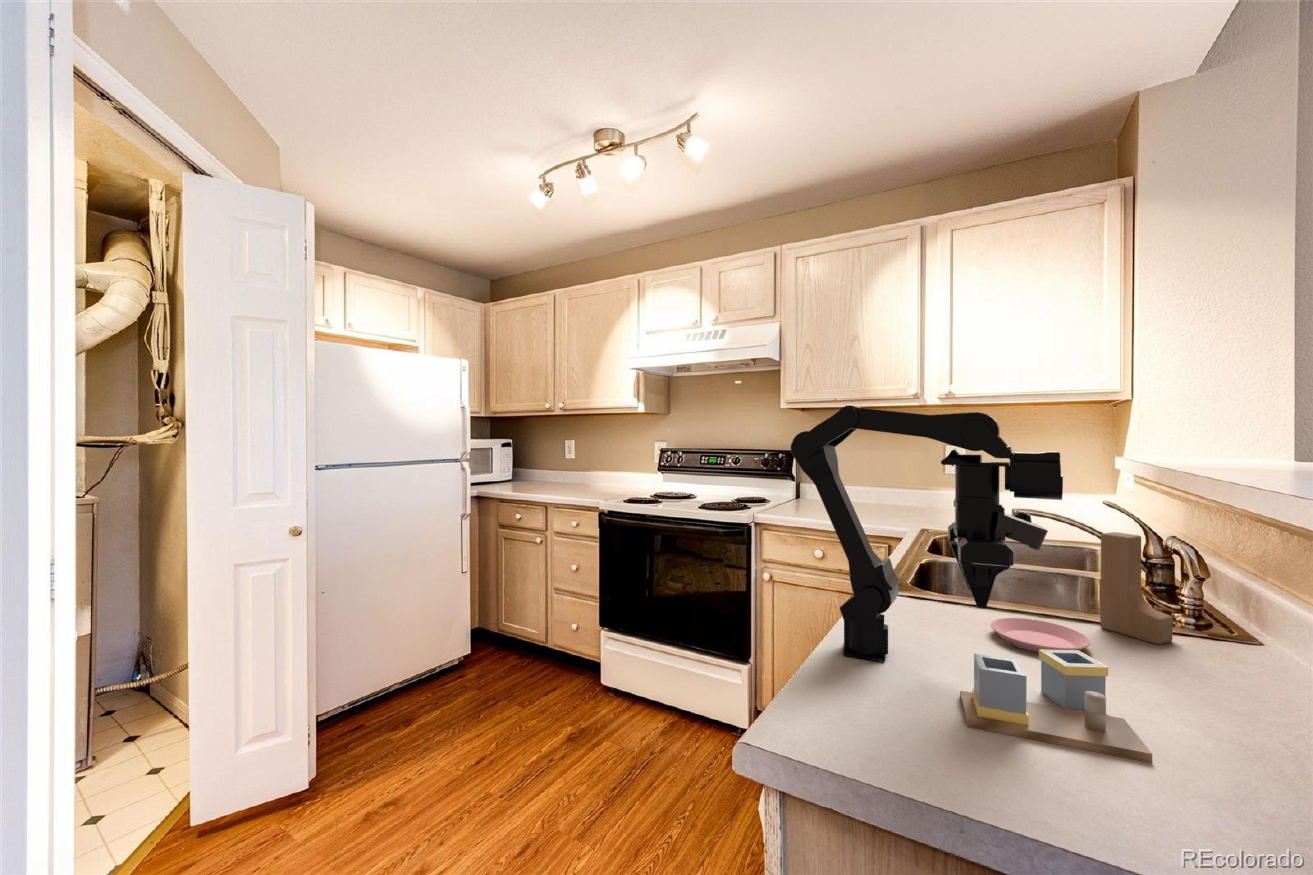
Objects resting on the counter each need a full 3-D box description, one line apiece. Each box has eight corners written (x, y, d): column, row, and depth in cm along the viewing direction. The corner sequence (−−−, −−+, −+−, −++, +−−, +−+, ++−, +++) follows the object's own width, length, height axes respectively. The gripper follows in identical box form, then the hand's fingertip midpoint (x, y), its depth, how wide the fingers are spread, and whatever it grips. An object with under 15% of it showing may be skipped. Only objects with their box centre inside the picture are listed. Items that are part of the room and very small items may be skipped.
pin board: (967, 726, 66) (967, 687, 66) (960, 697, 74) (960, 662, 74) (1152, 762, 59) (1152, 718, 59) (1123, 726, 66) (1123, 686, 66)
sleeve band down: (1028, 725, 65) (1028, 677, 65) (977, 715, 67) (977, 669, 67) (1019, 704, 70) (1019, 659, 70) (972, 696, 72) (972, 652, 72)
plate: (1089, 668, 83) (1089, 655, 83) (984, 645, 92) (984, 633, 92) (1091, 641, 94) (1091, 629, 94) (997, 622, 103) (997, 612, 103)
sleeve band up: (1065, 711, 70) (1065, 666, 70) (1038, 691, 76) (1038, 649, 75) (1108, 712, 70) (1108, 667, 70) (1078, 692, 75) (1078, 650, 75)
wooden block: (1173, 641, 93) (1174, 540, 93) (1160, 645, 91) (1160, 542, 91) (1112, 624, 101) (1113, 531, 101) (1099, 628, 100) (1099, 533, 99)
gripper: (1060, 506, 68) (1060, 627, 68) (1026, 491, 85) (1026, 588, 85) (961, 502, 72) (960, 615, 72) (947, 488, 89) (947, 580, 90)
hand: (976, 598), depth 80 cm, fingers open, 9 cm apart
